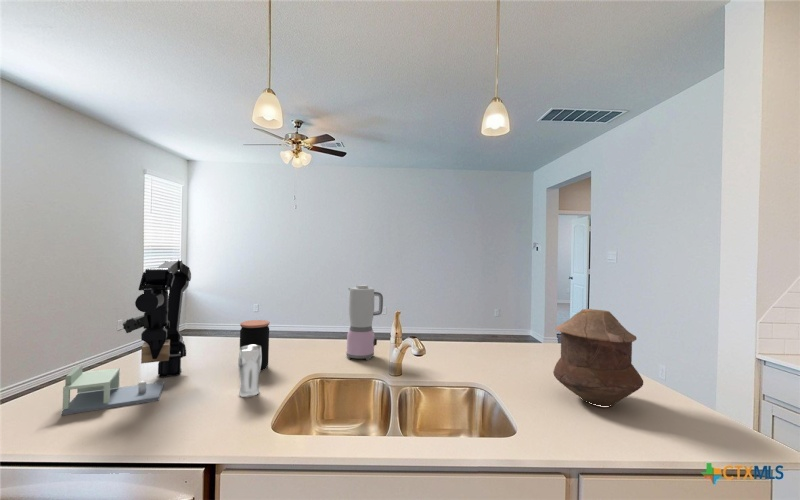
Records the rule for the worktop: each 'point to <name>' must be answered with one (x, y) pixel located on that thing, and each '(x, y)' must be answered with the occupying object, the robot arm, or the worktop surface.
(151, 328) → the robot arm
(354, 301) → the blender
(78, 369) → the hood
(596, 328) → the pottery vessel
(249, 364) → the beer glass
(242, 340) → the coffee jar
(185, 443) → the worktop surface
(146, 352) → the sleeve
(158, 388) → the grey base plate
